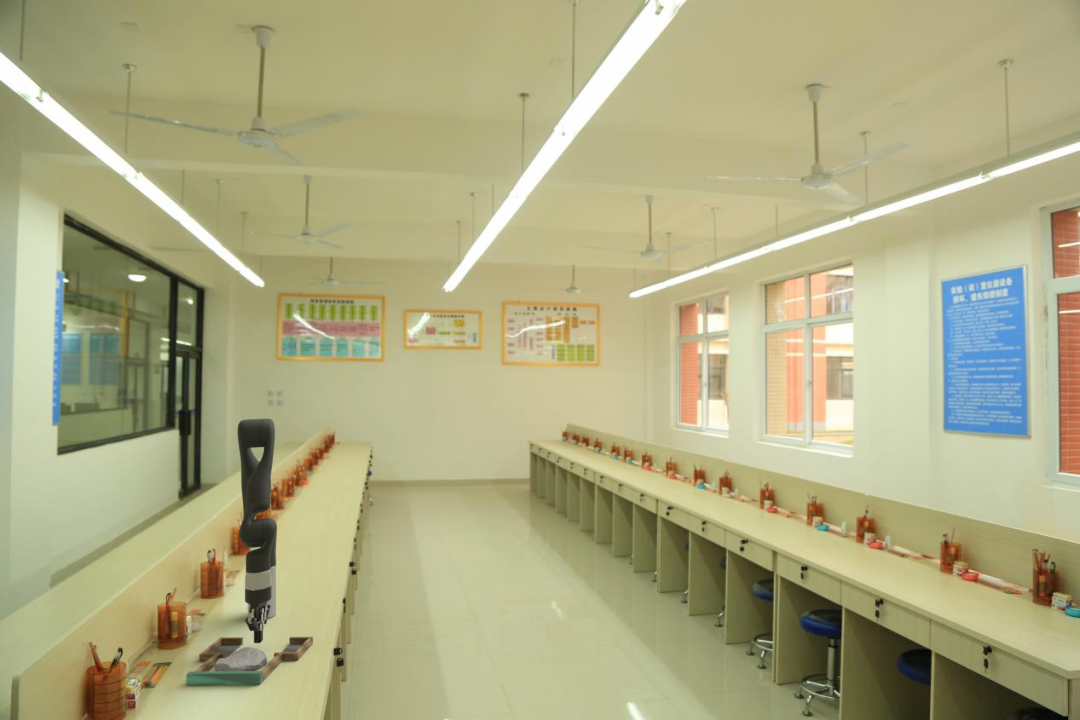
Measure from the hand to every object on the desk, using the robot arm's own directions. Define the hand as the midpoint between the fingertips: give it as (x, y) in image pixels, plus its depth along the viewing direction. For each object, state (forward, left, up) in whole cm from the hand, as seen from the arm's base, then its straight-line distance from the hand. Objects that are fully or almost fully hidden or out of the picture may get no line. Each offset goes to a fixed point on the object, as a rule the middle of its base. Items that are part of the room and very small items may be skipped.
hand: (258, 642), depth 205 cm
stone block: (+12, +1, -3) cm, 12 cm away
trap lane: (+8, 0, -3) cm, 9 cm away
